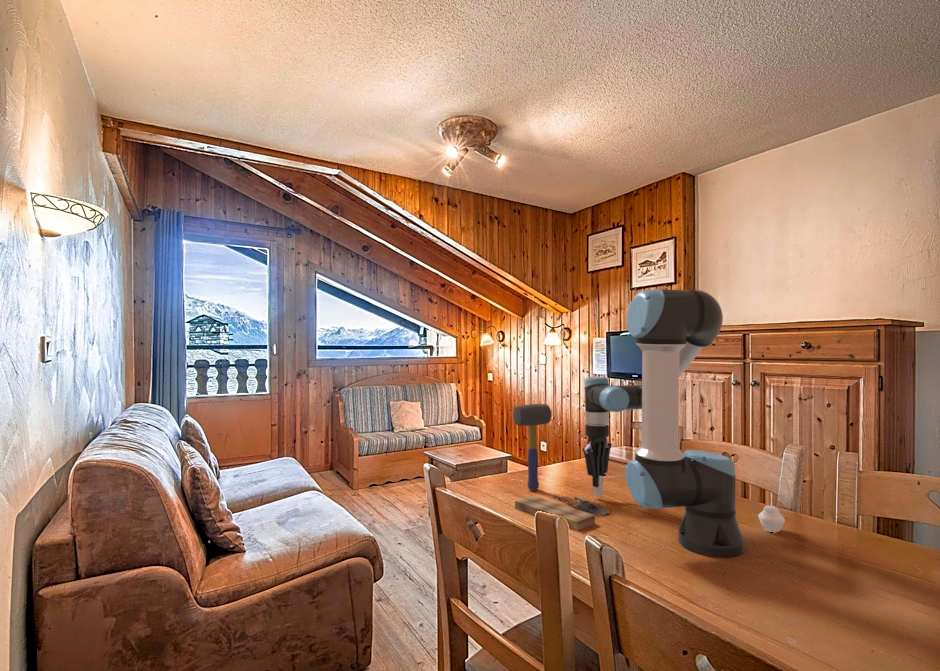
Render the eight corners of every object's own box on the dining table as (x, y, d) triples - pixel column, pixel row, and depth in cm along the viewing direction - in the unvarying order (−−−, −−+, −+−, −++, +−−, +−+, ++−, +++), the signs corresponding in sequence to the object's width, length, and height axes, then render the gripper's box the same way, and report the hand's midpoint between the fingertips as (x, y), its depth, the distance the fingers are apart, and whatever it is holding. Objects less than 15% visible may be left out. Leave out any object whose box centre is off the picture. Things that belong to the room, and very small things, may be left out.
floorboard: (594, 523, 141) (594, 514, 141) (577, 530, 136) (577, 521, 136) (532, 502, 159) (532, 495, 159) (515, 508, 154) (514, 500, 154)
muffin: (755, 531, 134) (755, 505, 134) (762, 525, 138) (761, 500, 138) (782, 537, 130) (781, 511, 130) (787, 531, 134) (787, 505, 134)
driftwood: (613, 515, 148) (613, 508, 148) (596, 519, 145) (596, 512, 145) (569, 497, 167) (569, 491, 167) (553, 500, 163) (553, 494, 164)
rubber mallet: (522, 495, 167) (521, 406, 167) (512, 489, 174) (511, 403, 174) (554, 490, 171) (553, 404, 171) (543, 484, 178) (542, 401, 178)
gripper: (599, 420, 169) (600, 489, 169) (575, 424, 161) (576, 497, 160) (618, 423, 163) (619, 494, 163) (594, 428, 155) (595, 503, 155)
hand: (598, 496), depth 162 cm, fingers closed
